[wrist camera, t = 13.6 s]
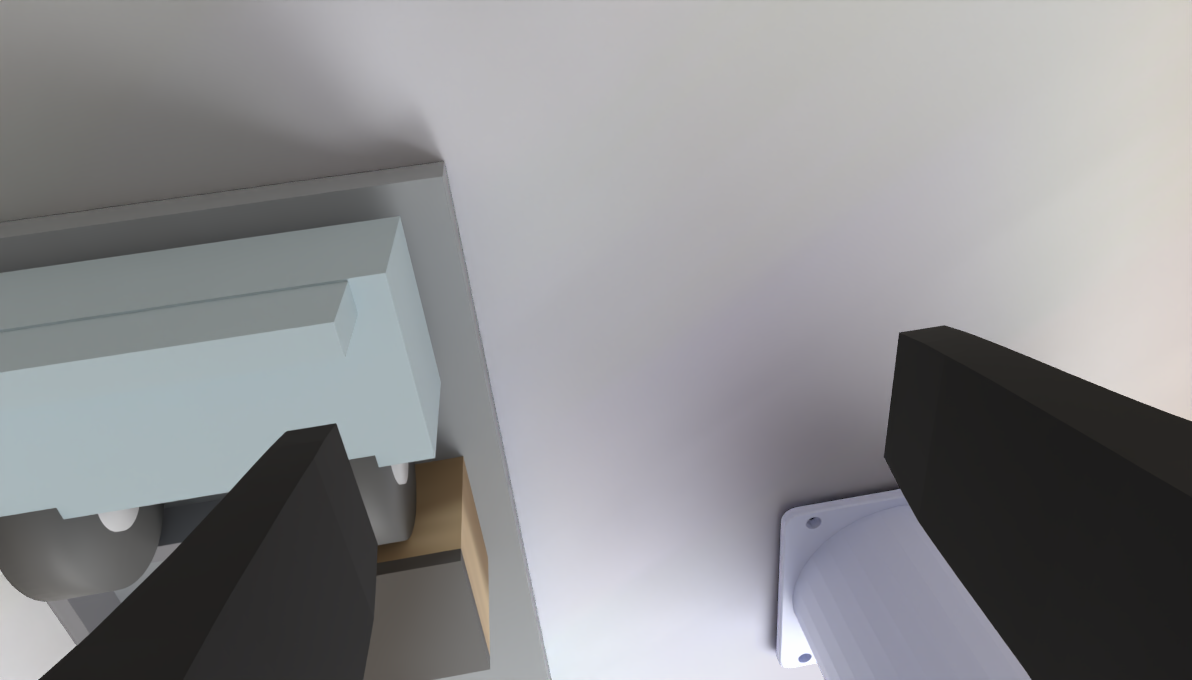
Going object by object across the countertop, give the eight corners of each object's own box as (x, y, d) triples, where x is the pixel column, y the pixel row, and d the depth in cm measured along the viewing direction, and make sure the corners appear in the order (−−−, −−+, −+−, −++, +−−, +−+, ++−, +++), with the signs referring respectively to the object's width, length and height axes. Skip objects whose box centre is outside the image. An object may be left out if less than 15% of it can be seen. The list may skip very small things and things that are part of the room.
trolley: (403, 203, 17) (375, 312, 12) (464, 456, 21) (460, 612, 16) (-75, 270, 16) (-292, 413, 12) (78, 519, 20) (-42, 702, 15)
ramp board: (444, 160, 18) (439, 198, 16) (564, 744, 30) (572, 814, 28) (-99, 236, 17) (-190, 287, 15) (250, 805, 29) (231, 882, 27)
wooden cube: (463, 456, 21) (460, 561, 17) (488, 558, 23) (490, 669, 20) (317, 480, 21) (287, 591, 17) (356, 581, 23) (335, 698, 19)
